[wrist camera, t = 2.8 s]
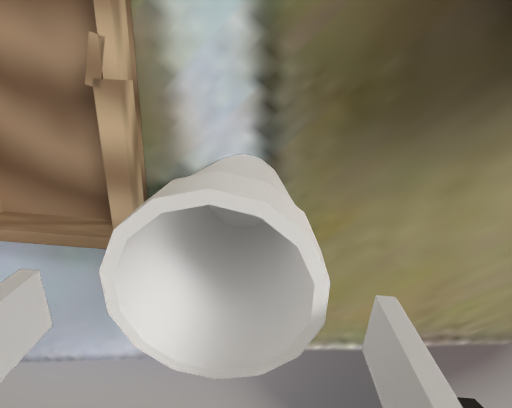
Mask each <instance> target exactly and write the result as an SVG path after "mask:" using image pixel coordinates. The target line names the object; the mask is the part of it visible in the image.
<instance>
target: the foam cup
mask: <svg viewBox="0 0 512 408" xmlns="http://www.w3.org/2000/svg"><path fill="white" fill-rule="evenodd" d="M99 274H100V279H101V284H102V288H103V293H104V298H105V303H106V307H107V312H108V314H109V315H110V316H111V317H112V319H113V320H114V321H115V322H116V324H117V325H118V326H119V328H120V329H121V330H122V331H123V333H124V334H125V335H126V336H127V338H128V339H129V340H130V342H131V343H132V344H133V345H134V347H136V348H138V349H139V350H141V351H143V352H144V353H146V354H148V355H149V356H151V357H153V358H154V359H156V360H158V361H159V362H161V363H163V364H164V365H166V366H168V367H169V368H171V369H173V370H177V371H181V372H185V373H190V374H194V375H199V376H203V377H208V378H212V379H227V378H237V377H247V376H256V375H262V374H264V373H266V372H268V371H270V370H272V369H274V368H276V367H278V366H280V365H282V364H284V363H286V362H289V361H291V360H292V359H295V358H297V357H298V356H300V354H301V353H302V352H303V351H304V349H305V348H306V347H307V346H308V344H309V343H310V342H311V341H312V339H313V338H314V337H315V336H316V334H317V333H318V332H319V330H320V329H321V328H322V327H323V325H324V324H325V317H326V310H327V303H328V295H329V288H330V280H329V276H328V273H327V269H326V266H325V263H324V259H323V256H322V252H321V250H320V247H319V245H318V243H317V240H316V238H315V236H314V233H313V231H312V229H311V226H310V224H309V222H308V219H307V217H306V215H305V213H304V212H303V211H302V210H301V209H299V208H298V207H297V206H296V205H295V204H294V202H293V201H292V199H291V197H290V195H289V194H288V192H287V190H286V189H285V187H284V185H283V183H282V182H281V180H280V178H279V177H278V175H277V173H276V171H275V170H274V169H273V168H272V167H271V166H269V165H268V164H267V163H266V162H265V161H263V160H262V159H261V158H258V157H254V156H250V155H246V154H239V155H234V156H229V157H225V158H223V159H221V160H219V161H217V162H215V163H213V164H211V165H209V166H208V167H206V168H204V169H202V170H200V171H198V172H196V173H194V174H192V175H191V176H189V177H184V178H179V179H174V180H172V181H171V182H169V183H168V184H167V185H166V186H164V187H163V188H162V189H161V190H159V191H158V192H157V193H156V194H154V195H153V196H152V197H150V198H149V199H148V200H147V201H145V202H144V203H143V204H142V205H140V206H139V207H138V208H137V209H136V210H135V211H134V212H133V213H131V214H130V215H129V216H128V217H127V218H126V219H125V220H124V221H123V222H122V223H120V224H119V225H118V226H117V227H116V228H115V229H114V230H113V232H112V235H111V238H110V241H109V244H108V247H107V249H106V252H105V255H104V258H103V261H102V263H101V266H100V269H99Z"/></svg>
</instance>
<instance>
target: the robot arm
mask: <svg viewBox="0 0 512 408" xmlns="http://www.w3.org/2000/svg"><path fill="white" fill-rule="evenodd" d="M52 326H53V324H52V320H51V316H50V312H49V308H48V304H47V300H46V296H45V292H44V288H43V284H42V280H41V276H40V272H39V270H26V269H19V270H18V271H17V272H15V273H14V274H12V275H11V276H10V277H8V278H7V279H5V280H4V281H3V282H1V283H0V382H1V381H2V380H3V379H4V378H5V377H6V376H7V374H8V373H9V372H10V371H11V370H12V369H13V368H14V367H15V366H16V365H17V364H18V363H19V362H20V361H21V359H22V358H23V357H24V356H25V355H26V354H27V353H28V352H29V351H30V350H31V349H32V347H33V346H34V345H35V344H36V343H37V342H38V341H39V340H40V339H41V338H42V337H43V335H44V334H45V333H46V332H47V331H48V330H49V329H50V328H51V327H52ZM362 350H363V353H364V356H365V359H366V362H367V364H368V367H369V370H370V373H371V376H372V378H373V381H374V384H375V387H376V389H377V392H378V395H379V398H380V401H381V404H382V406H383V408H483V407H482V406H481V405H480V404H479V403H478V402H477V401H476V400H475V399H470V398H457V397H456V395H455V394H454V392H453V391H452V389H451V387H450V385H449V384H448V382H447V381H446V379H445V377H444V376H443V374H442V372H441V371H440V369H439V368H438V366H437V364H436V363H435V361H434V359H433V358H432V356H431V354H430V353H429V351H428V349H427V348H426V346H425V344H424V343H423V341H422V339H421V338H420V336H419V334H418V333H417V331H416V329H415V328H414V326H413V325H412V323H411V321H410V320H409V318H408V316H407V315H406V313H405V311H404V310H403V308H402V306H401V305H400V303H399V301H398V300H397V298H396V297H390V296H375V300H374V304H373V308H372V312H371V316H370V320H369V324H368V328H367V332H366V336H365V339H364V343H363V347H362Z"/></svg>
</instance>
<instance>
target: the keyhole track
mask: <svg viewBox="0 0 512 408" xmlns="http://www.w3.org/2000/svg"><path fill="white" fill-rule="evenodd" d="M147 200H148V196H147V184H146V173H145V161H144V150H143V138H142V127H141V115H140V104H139V92H138V81H137V70H136V58H135V47H134V35H133V24H132V12H131V1H130V0H0V241H8V242H21V243H34V244H47V245H60V246H72V247H85V248H98V249H107V247H108V244H109V241H110V238H111V235H112V232H113V230H114V229H115V228H116V227H117V226H118V225H119V224H120V223H122V222H123V221H124V220H125V219H126V218H127V217H128V216H129V215H130V214H131V213H133V212H134V211H135V210H136V209H137V208H138V207H139V206H140V205H142V204H143V203H144V202H145V201H147Z"/></svg>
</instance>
